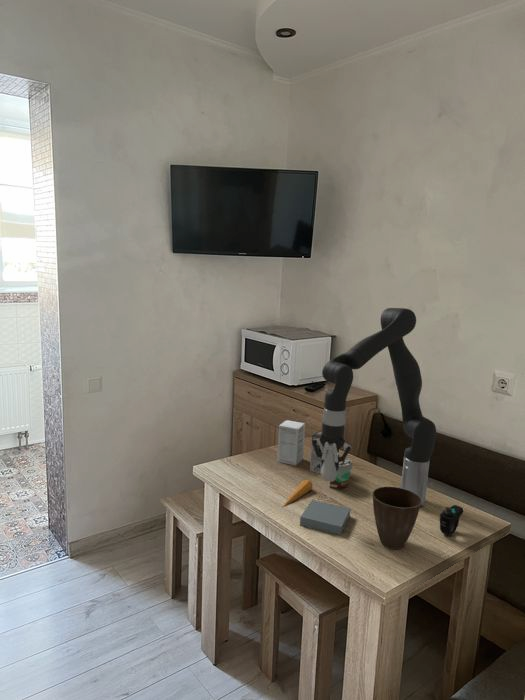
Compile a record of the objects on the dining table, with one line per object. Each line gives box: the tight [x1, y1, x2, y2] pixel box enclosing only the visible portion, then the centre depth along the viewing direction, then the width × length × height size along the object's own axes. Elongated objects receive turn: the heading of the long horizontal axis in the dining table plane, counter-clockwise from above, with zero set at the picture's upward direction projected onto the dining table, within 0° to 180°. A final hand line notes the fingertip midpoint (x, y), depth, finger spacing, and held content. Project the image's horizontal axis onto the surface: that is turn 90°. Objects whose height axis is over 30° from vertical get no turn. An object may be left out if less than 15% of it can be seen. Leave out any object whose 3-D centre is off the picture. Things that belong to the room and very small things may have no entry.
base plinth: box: [299, 499, 351, 536], centre depth 175 cm, size 14×14×3 cm
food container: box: [329, 456, 353, 490], centre depth 202 cm, size 12×6×10 cm, turn 143°
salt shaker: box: [320, 444, 338, 483], centre depth 171 cm, size 6×6×13 cm
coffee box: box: [309, 429, 324, 475], centre depth 217 cm, size 9×6×16 cm
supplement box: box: [276, 419, 306, 466], centre depth 225 cm, size 10×9×17 cm
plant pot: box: [372, 486, 421, 550], centre depth 162 cm, size 15×15×16 cm
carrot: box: [282, 479, 313, 508], centre depth 191 cm, size 20×4×4 cm, turn 146°
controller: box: [439, 504, 464, 536], centre depth 171 cm, size 4×12×10 cm, turn 137°
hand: (329, 470), depth 172 cm, fingers closed on salt shaker, 3 cm apart
